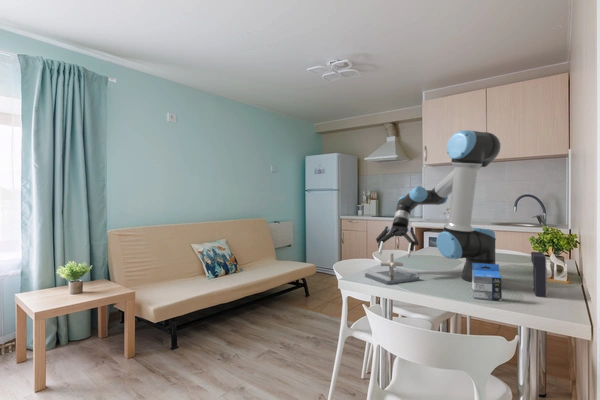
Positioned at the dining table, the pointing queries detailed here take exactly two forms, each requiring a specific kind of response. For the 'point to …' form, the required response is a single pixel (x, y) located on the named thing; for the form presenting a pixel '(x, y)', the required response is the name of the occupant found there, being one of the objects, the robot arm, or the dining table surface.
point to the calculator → (539, 274)
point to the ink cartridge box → (486, 282)
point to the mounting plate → (392, 276)
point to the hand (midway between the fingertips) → (393, 254)
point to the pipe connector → (391, 264)
